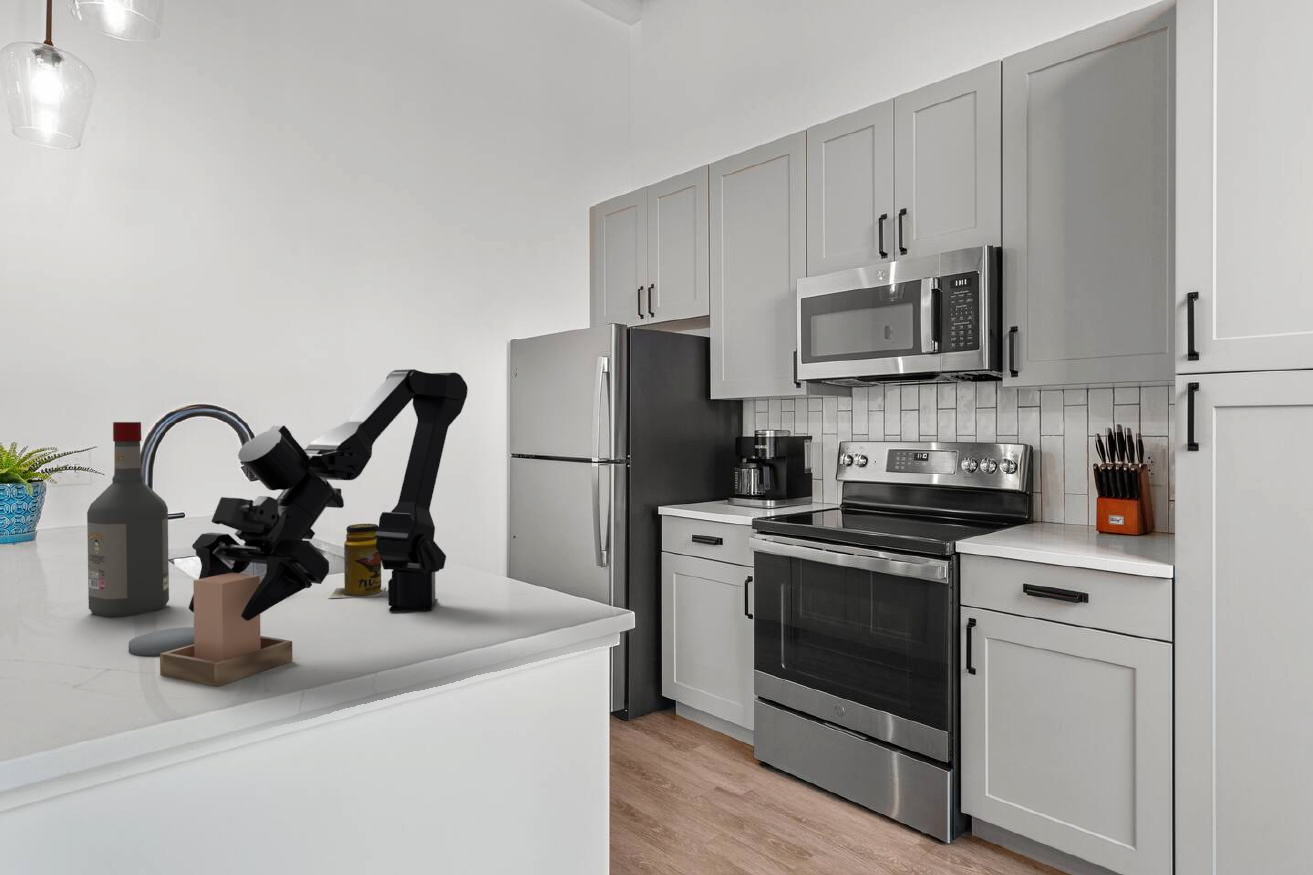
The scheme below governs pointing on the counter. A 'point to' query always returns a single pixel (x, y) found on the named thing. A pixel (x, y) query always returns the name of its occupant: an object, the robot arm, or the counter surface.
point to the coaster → (161, 641)
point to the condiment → (361, 563)
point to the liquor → (127, 537)
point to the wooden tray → (225, 663)
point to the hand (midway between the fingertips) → (217, 614)
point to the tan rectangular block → (224, 617)
